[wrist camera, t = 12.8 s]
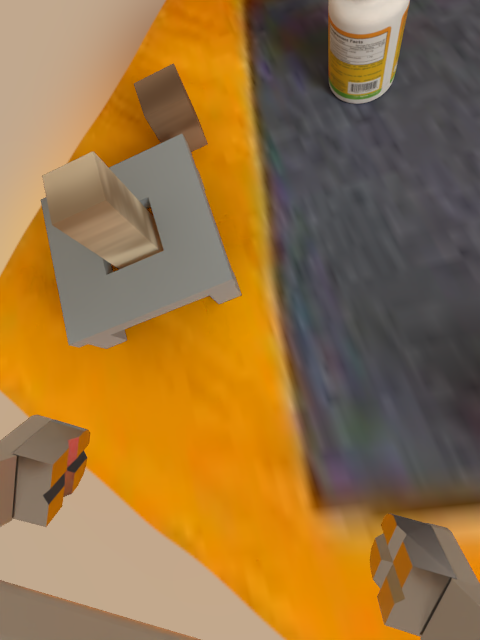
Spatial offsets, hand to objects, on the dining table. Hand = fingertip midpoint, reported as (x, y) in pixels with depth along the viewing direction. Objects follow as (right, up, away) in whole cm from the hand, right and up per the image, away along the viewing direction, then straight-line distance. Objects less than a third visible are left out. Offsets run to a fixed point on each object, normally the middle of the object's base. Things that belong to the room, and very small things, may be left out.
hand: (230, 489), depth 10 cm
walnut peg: (-5, +21, +25) cm, 33 cm away
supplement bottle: (+11, +25, +22) cm, 35 cm away
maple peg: (-7, +10, +23) cm, 26 cm away
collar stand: (-7, +10, +23) cm, 26 cm away
